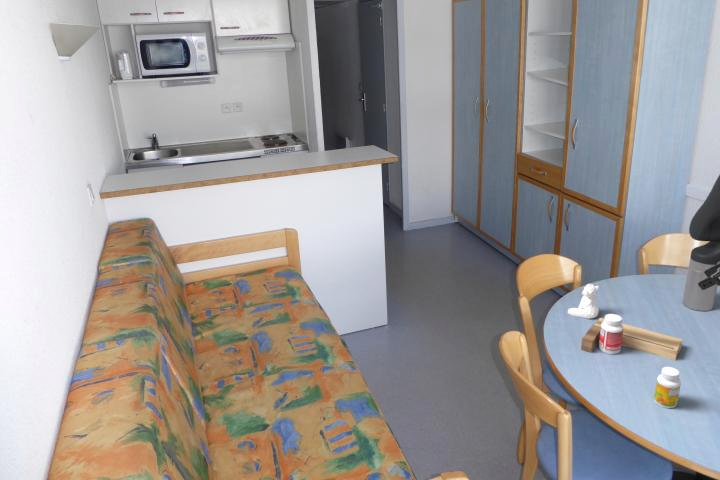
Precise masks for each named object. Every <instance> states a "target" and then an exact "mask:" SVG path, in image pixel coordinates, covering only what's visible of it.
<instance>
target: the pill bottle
mask: <svg viewBox="0 0 720 480" xmlns="http://www.w3.org/2000/svg"><path fill="white" fill-rule="evenodd" d="M603 319H604V322H602V324H601V331H600V340H599V342H598V348H599V350H600V351H601V352H603V353H605V354H609V355H616V354H619V353H620V352H621V349H622V345H621V344H622V336H623V325H622V324H623V323H622V321H623V317H621V316H620V315H619V314H613V313H608V314H607V313H606V314H605V315H604V318H603ZM621 323H622V324H621Z"/></svg>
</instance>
